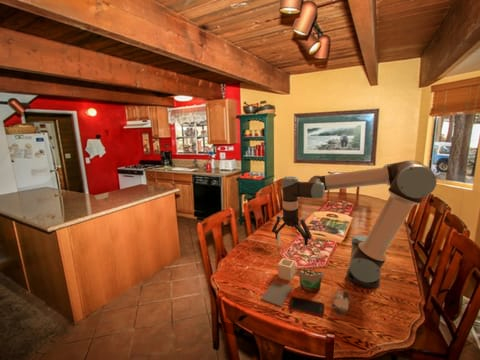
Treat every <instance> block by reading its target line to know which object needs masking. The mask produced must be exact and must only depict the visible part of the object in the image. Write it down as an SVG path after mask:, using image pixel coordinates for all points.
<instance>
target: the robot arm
mask: <svg viewBox="0 0 480 360" xmlns="http://www.w3.org/2000/svg"><path fill="white" fill-rule="evenodd" d="M281 182H282V183H281V195H282V215H281V214H279V215H278V216H276V221H275V223H274V225H273V227H272V229H271V232H272V233H274V234H275V237H274V238H275V240H276V244H277V245H276V246H277V247H279V246H281V244H282V242H281V238H282V237H281V232H280V231H281V230H282V229H283V228H285V226H287V227H291V228H295V229H296V230H297V231H298V233H299V234H300V235H301V237H302V253H305V252H306V250H307V247H308V245H309V240H311V238H312V237H313V236H312V233H311V232H310V229H309V227H308V225H307V223H306V219H305V218H300V217H299V198H303V199H313V200H317V199H319V200H320V199H323V198H324V197H325V193H326V191H330V190H331V191H333V190H340V189H341V190H342V189H350V188H361V187H367V186H368V187H370V186H378V185H387V186H389V188H388V190H387V191H388V192H389V197H388V199H387V200H386V202H385V204H384V206H383V208H382V209H381V211H380V213H379V214H378V217H377V218H376V220H375V222H374V224H373V225H372V227H371V228H370V231H369V233H368V234H367V235H361V234H358V235H354V236H352V237H351V249H350V250H351V251H350V259H349V265H348V268H347V271H346V279H347V281H348V282H349V283H351V284H352V285H353V286H355V287H358V288H360V289H364V290H365V289H366V290H373V289H374V290H375V289H377V288H378V287H379V286H380V285H381V278H380V277H381V273H382V272H381V269H382V267H383V265H385V263H386V261H387V259H388V258H387V257H388V256H387V255H386V252H387V250H388V249H389V248H390V246H391V244H392V242H393V240H394V239H395V238H396V236H397V234H398V232H399V230H400V229H401V228H402V226H403V224H404V222H405V220H406V219H407V217H408V216H409V214H410V213H411V211H412V209H413V207H414V206H415V205H416V206H417V205H420V204H422V202H423V200H424V199H425V198H426V197H427V196H429V195H431V194H432V193H433V192H434V190H435V189H436V187H437V182H438V181H437V177H436V175H435V172H434V171H433V170H432V169H431V168H430V167H429V166H427V165H425V164H424V163H423V162H420V161H418V160H413V159H412V160H411V159H409V160H403V161H399V162H393V163H388V164H384V165H383V166H381V167H377V168H368V169H361V170H354V171H347V172H339V173H334V174H326V175H313V176H312V177H311V178H310V179H309V180H308V181H300V180H299V179H298V177H296V176H286V177H283V178H282V181H281ZM281 221H283V223H282V224H281V225H280V222H281ZM279 225H280V226H279ZM278 226H279V228H278ZM277 228H278V229H277Z"/></svg>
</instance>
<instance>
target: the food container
mask: <svg viewBox="0 0 480 360" xmlns="http://www.w3.org/2000/svg"><path fill="white" fill-rule="evenodd" d="M297 274H298V275H299V284H300V290H302V291H303V292H304V293H306V294H312V295H313V294H318V293H319V292H320V290H321V285H322V278H323V277H324V271H323V270H322V271H316V270H313V269H304V268H303V269H302V268H300V267H298V268H297Z"/></svg>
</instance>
